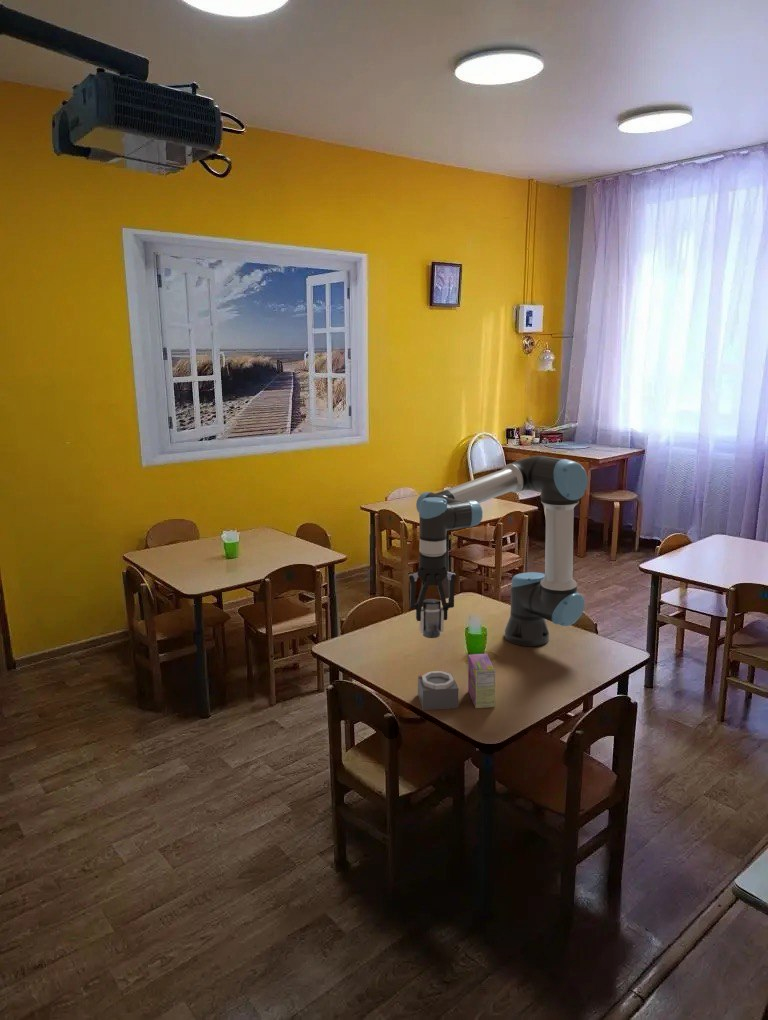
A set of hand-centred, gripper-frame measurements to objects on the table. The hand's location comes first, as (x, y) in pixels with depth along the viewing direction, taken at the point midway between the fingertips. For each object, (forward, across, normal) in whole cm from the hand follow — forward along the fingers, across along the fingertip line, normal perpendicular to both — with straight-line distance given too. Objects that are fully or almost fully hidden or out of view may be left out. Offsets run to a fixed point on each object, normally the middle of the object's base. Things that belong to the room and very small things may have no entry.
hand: (431, 630), depth 198 cm
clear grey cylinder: (+1, 0, 0) cm, 1 cm away
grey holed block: (+19, -1, +6) cm, 20 cm away
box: (+19, -14, +6) cm, 24 cm away
